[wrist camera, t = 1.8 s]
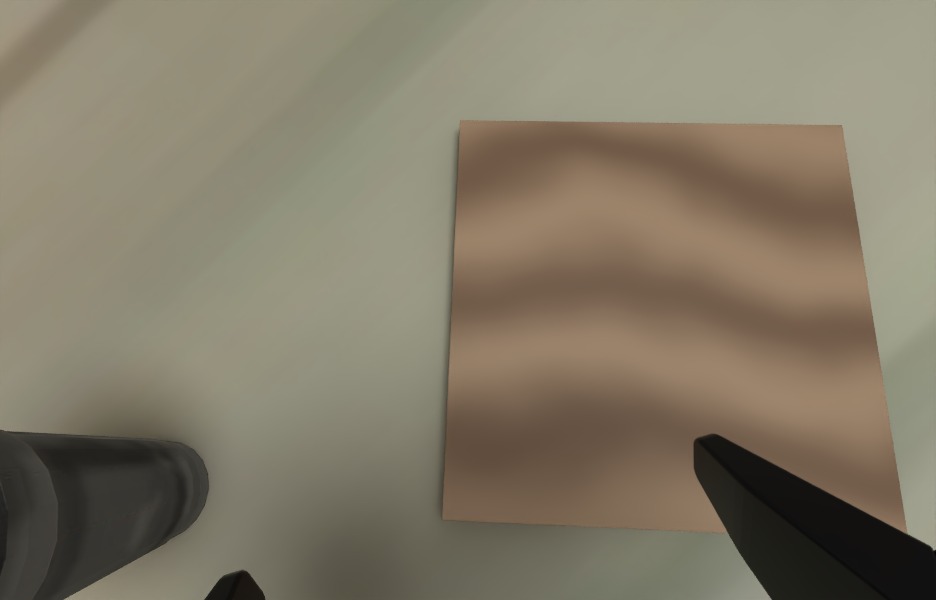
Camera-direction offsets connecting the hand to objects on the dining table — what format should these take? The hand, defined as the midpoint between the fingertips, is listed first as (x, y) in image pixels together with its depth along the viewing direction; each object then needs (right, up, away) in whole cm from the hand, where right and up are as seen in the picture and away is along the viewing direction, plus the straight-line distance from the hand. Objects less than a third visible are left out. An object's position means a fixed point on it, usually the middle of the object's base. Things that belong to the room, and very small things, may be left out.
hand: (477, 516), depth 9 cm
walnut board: (+9, +4, +15) cm, 18 cm away
